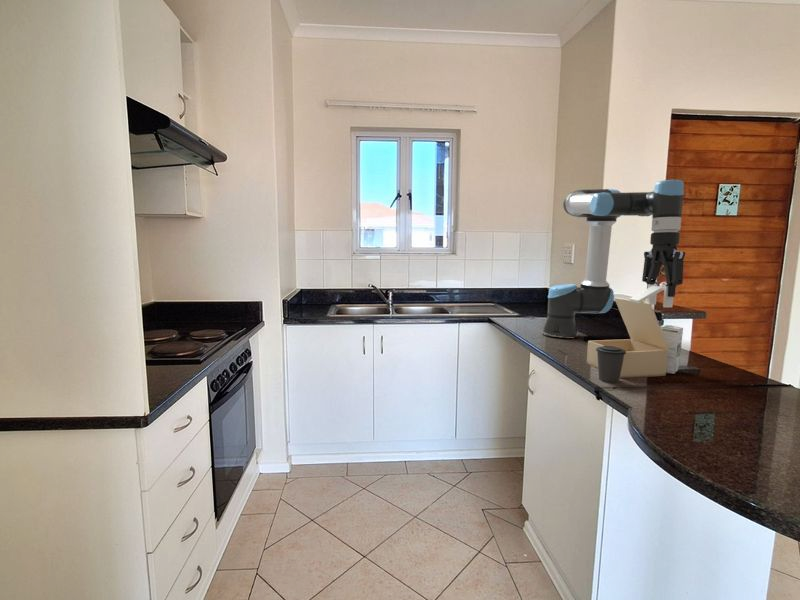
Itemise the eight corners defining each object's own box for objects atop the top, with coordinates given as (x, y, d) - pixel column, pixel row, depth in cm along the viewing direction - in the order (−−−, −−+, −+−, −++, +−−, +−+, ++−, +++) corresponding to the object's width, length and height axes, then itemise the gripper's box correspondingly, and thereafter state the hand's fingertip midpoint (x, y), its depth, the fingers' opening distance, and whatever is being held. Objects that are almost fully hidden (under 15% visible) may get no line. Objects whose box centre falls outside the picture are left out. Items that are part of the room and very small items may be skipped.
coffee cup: (630, 383, 115) (633, 350, 114) (605, 384, 114) (607, 351, 113) (612, 375, 123) (614, 343, 122) (588, 376, 122) (590, 344, 121)
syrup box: (657, 367, 132) (661, 324, 130) (679, 371, 128) (683, 326, 126) (653, 370, 128) (657, 326, 126) (675, 374, 124) (679, 328, 122)
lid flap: (611, 296, 134) (634, 283, 135) (629, 339, 137) (651, 327, 138) (646, 301, 119) (671, 287, 120) (665, 350, 122) (689, 336, 123)
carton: (586, 363, 136) (588, 340, 135) (628, 361, 139) (630, 339, 138) (618, 378, 120) (620, 352, 119) (665, 375, 123) (667, 350, 122)
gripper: (632, 233, 132) (627, 302, 134) (680, 230, 113) (673, 310, 116) (652, 233, 133) (647, 301, 136) (703, 230, 114) (695, 309, 117)
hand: (659, 305), depth 126 cm, fingers open, 6 cm apart
